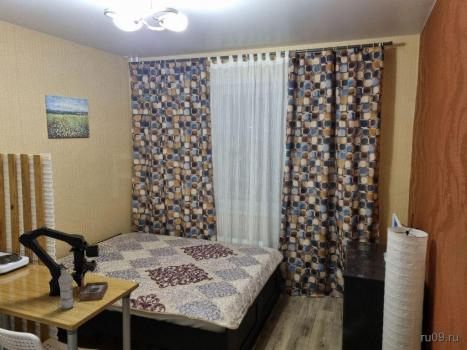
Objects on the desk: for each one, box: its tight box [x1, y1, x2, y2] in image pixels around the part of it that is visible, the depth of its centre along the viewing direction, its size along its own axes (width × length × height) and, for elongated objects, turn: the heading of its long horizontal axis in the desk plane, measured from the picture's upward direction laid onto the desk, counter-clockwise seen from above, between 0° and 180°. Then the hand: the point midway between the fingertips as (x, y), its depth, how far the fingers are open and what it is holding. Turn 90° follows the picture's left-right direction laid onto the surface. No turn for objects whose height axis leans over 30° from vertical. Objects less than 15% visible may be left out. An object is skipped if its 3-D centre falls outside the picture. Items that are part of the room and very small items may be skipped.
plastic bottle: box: [58, 267, 75, 310], centre depth 168 cm, size 6×7×20 cm
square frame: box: [79, 281, 109, 301], centre depth 183 cm, size 11×13×4 cm
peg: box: [77, 277, 85, 293], centre depth 187 cm, size 3×3×9 cm
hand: (80, 285), depth 187 cm, fingers closed on peg, 3 cm apart
